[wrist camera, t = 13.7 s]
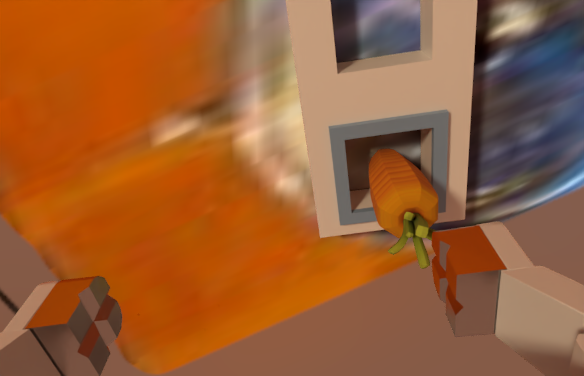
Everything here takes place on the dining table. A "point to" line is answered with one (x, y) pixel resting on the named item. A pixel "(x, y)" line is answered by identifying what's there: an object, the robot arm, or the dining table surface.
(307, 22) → the duct block
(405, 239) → the carrot
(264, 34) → the dining table surface
